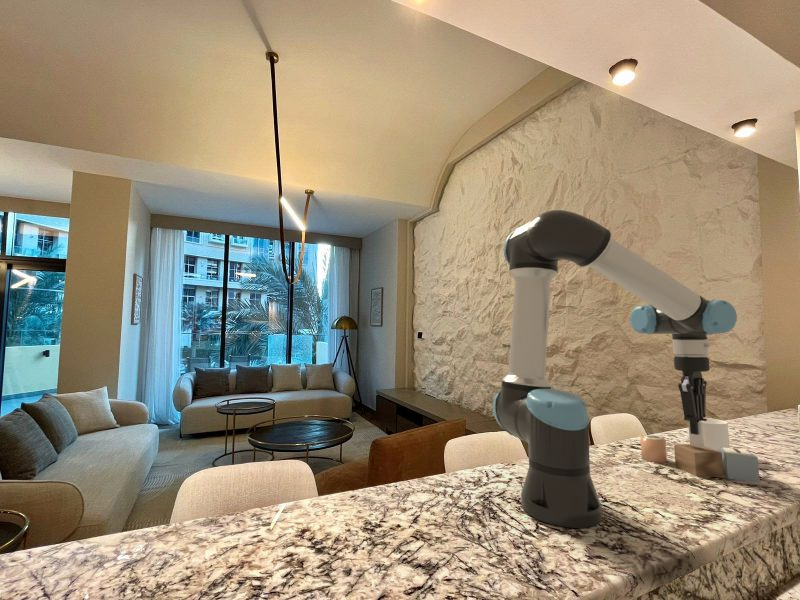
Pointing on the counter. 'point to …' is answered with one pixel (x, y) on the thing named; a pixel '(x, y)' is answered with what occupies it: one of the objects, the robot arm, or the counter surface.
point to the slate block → (740, 464)
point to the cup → (715, 434)
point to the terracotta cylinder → (653, 449)
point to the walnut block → (698, 460)
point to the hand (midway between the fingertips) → (697, 446)
